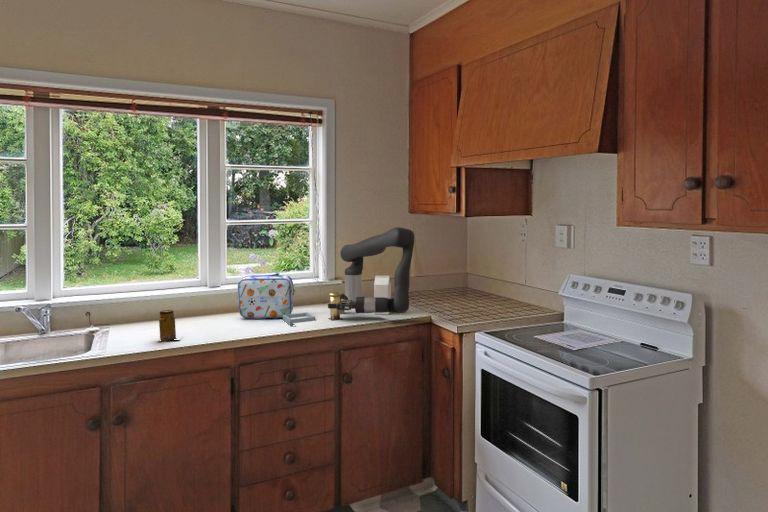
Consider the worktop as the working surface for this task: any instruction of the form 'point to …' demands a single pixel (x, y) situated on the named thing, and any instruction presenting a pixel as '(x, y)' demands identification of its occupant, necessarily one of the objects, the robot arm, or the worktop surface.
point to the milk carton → (382, 288)
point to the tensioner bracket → (342, 297)
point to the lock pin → (334, 300)
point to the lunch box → (265, 296)
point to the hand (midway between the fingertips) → (329, 305)
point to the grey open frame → (290, 321)
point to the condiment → (167, 325)
